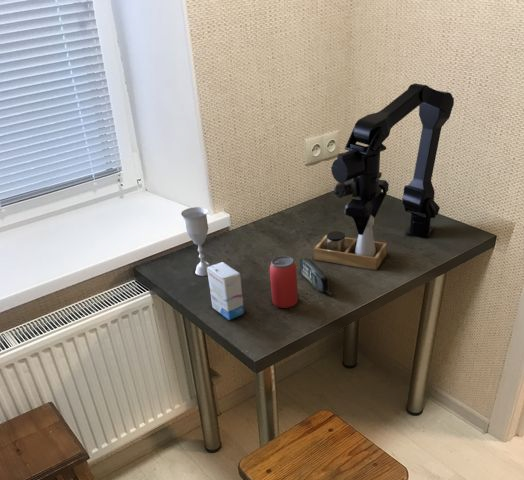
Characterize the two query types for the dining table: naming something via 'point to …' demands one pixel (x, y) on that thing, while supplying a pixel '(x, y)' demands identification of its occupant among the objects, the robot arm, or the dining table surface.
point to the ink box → (225, 290)
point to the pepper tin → (336, 241)
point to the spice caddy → (350, 254)
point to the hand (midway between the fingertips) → (366, 227)
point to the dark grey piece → (314, 275)
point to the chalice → (197, 233)
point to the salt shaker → (366, 241)
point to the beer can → (283, 282)
